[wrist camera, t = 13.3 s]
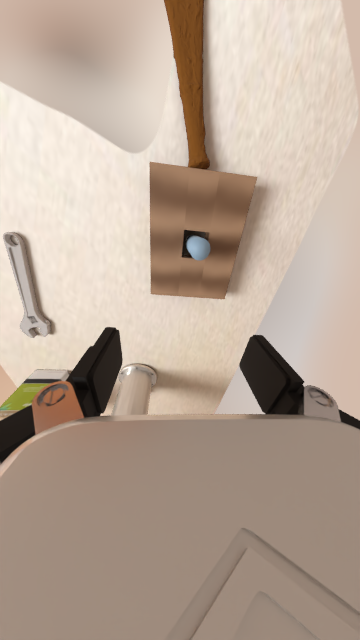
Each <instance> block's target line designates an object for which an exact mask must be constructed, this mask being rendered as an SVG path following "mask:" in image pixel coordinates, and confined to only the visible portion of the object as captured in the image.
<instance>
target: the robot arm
mask: <svg viewBox="0 0 360 640" xmlns="http://www.w3.org/2000/svg"><path fill="white" fill-rule="evenodd" d="M121 365H122V351H121V343H120V335H119V330H116V328H112V327H106V328H105V330H104V331H103V332H102V334H101V335H100V337H99V338H98V340H97V341H96V343H95V344H94V346H91V347H89V348H88V350H87V351H86V353H85V354H84V355H83V357H82V358H81V360H80V361H79V362H78V364H77V365H76V367H75V368H74V369H73V371H72V372H71V374H70V375H69V376H68V378H67V379H66V381H58V382H54V383H51V384H49V385H47V386H45V387H44V388H42V389H41V390H40V391H39V392H38V393H37V394H36V395H35V396H34V398H33V400H32V404H31V405H29V406H28V407H26V408H24V409H22V410H20V411H18V412H16V413H14V414H12V415H10V416H8V417H6V418H4V419H2V420H1V421H0V640H360V421H359V420H358V419H355V418H354V417H352V416H350V415H348V414H347V413H344V412H342V411H341V410H339V409H338V406H337V403H336V402H335V400H334V399H333V398H332V397H331V396H330V395H329V394H328V393H326V392H325V391H324V390H322V389H320V388H318V387H315V386H311V385H309V386H306V387H304V386H303V385H302V384H303V383H304V381H303V380H302V378H301V377H300V376H299V375H298V374H297V373H296V372H295V371H294V370H293V369H292V367H291V366H290V365H289V364H288V363H287V362H286V361H285V360H284V359H283V357H282V356H281V355H280V354H279V353H278V352H277V351H276V350H275V349H274V347H273V346H272V345H271V344H270V343H269V342H268V341H267V340H266V339H265V338H264V337H263V336H262V335H253V336H252V337H250V339H249V342H248V344H247V347H246V349H245V352H244V354H243V356H242V359H241V361H240V369H241V371H242V372H243V375H244V376H245V378H246V380H247V382H248V384H249V386H250V388H251V390H252V392H253V394H254V396H255V398H256V399H257V401H258V404H259V405H260V407H261V409H262V411H263V412H264V413H265V414H177V415H147V414H148V407H149V399H150V392H151V387H152V386H154V385H155V383H156V381H157V375H156V373H155V371H154V370H153V369H151V368H150V367H148V366H145V365H141V364H132V365H128V366H125V367H124V368H123V369H121V371H120V368H121ZM119 371H120V373H119ZM118 373H119V381H120V382H121V386H120V389H119V392H118V395H117V398H116V401H115V404H114V407H113V410H112V413H111V416H100V414H101V413H104V411H105V409H106V406H107V403H108V401H109V398H110V395H111V392H112V390H113V387H114V384H115V382H116V379H117V376H118Z"/></svg>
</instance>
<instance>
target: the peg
mask: <svg viewBox="0 0 360 640" xmlns="http://www.w3.org/2000/svg"><path fill="white" fill-rule="evenodd" d="M185 246H186V248H187V249H188V251H189V253H190V254H191V256H192V257H193V258H194V259H195V260H204V259H205V258H207V257H208V255H209V253H210V244H209V242H208V241H207V240H206V239H204V238H201V237H199V236H196V235H190V236H188V237H187V239H186V241H185Z"/></svg>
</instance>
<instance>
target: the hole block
mask: <svg viewBox="0 0 360 640" xmlns="http://www.w3.org/2000/svg"><path fill="white" fill-rule="evenodd" d="M256 180H257V177H253V176H246V175H239V174H232V173H225V172H218V171H211V170H204V169H197V168H190V167H183V166H176V165H169V164H162V163H155V162H150V245H151V294H156V295H170V296H185V297H199V298H214V299H225V295H226V292H227V288H228V284H229V280H230V277H231V273H232V269H233V266H234V262H235V258H236V254H237V251H238V247H239V243H240V240H241V236H242V232H243V228H244V225H245V221H246V217H247V213H248V210H249V206H250V202H251V199H252V195H253V191H254V187H255V184H256ZM184 230H192V231H201V232H205V238H204V239H206V240H207V241H208V242H209V244H210V253H209V255H208V257H207V258H205V259H204V260H195V259H194V258H193V257H192V256H191V255H184V254H182V248H183V237H184Z"/></svg>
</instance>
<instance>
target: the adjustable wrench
mask: <svg viewBox="0 0 360 640" xmlns="http://www.w3.org/2000/svg"><path fill="white" fill-rule="evenodd" d="M11 235H13V236H14V237H15V238H16V239H17V240H18V245H15V244H14V243H13V242H12V241H11V239H10V236H11ZM3 239H4V242H5V246H6V249H7V252H8V256H9V259H10V263H11V266H12V269H13V273H14V276H15V280H16V283H17V286H18V290H19V293H20V297H21V300H22V303H23V307H24V316H23V319H22V321H21V323H20V328H21V330H22V331H23V332H24V333H25V334H26V335H27V336H29V337H31V338H34V337H35V336H36V335H37V334H36V333H35V332H34V330H33V329H32V328H33V327H39V328H40V329H39V331H40V332H41V333H42V335H43V336H44V337H45V336H47V335H48V334H49V333H50V331H51V326H50V324H51V322H49V320H46V319H45V318H44V317H43V316H42V315H41V314H40V312H39V310H38V306H37V302H36V297H35V292H34V287H33V283H32V278H31V273H30V269H29V264H28V259H27V255H26V250H25V245H24V241H23V239H22V238H21V237H20V236H19V235H18V234H16V233H13V232H7V233H4V235H3Z"/></svg>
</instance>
